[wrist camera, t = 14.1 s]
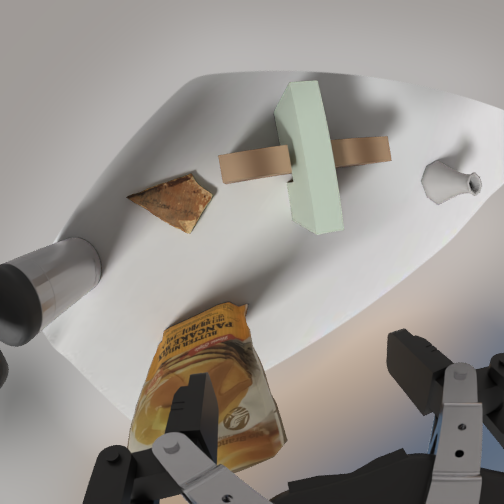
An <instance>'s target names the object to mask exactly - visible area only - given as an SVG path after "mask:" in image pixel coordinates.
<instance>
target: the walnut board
mask: <svg viewBox="0 0 504 504" xmlns="http://www.w3.org/2000/svg"><path fill="white" fill-rule="evenodd" d="M330 141H331V146H332V152H333V158H334V163H335V168H339V167H348V166H358V165H365V164H372V163H379V162H386V161H392V160H391V154H390V148H389V142H388V136H385V137H365V138H350V139H337V140H330ZM218 157H219V163H220V168H221V174H222V180H223V183H224V184H230V183H236V182H241V181H247V180H253V179H259V178H265V177H272V176H278V175H285V174H292V169H291V163H290V157H289V151H288V146H287V145H282V146H274V147H267V148H261V149H254V150H248V151H242V152H236V153H230V154H224V155H219V156H218Z"/></svg>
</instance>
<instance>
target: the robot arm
mask: <svg viewBox="0 0 504 504" xmlns="http://www.w3.org/2000/svg"><path fill="white" fill-rule="evenodd" d="M100 276H101V262H100V259H99V256H98V254H97V252H96V250H95V249H94V247H93V246H92V245H91V244H90V243H89V242H87V241H86V240H84V239H81V238H77V237H73V238H68V239H66V240H63V241H60V242H57V243H54V244H52V245H49V246H46V247H44V248H41V249H38V250H36V251H33V252H31V253H28V254H25V255H23V256H20V257H18V258H16V259H13V260H11V261H9V262H6V263H4V264H1V265H0V341H2V342H3V343H5V344H7V345H10V346H22V345H24V344H26V343H28V342H29V341H30V340H31V339H33V338H34V337H35V336H36V335H37V334H38V333H39V332H40V331H42V330H43V329H44V328H45V327H47V326H48V325H49V324H50V323H51V322H52V321H54V320H55V319H56V318H57V317H59V316H60V315H61V314H62V313H63V312H65V311H66V310H67V309H68V308H70V307H71V306H72V305H73V304H75V303H76V302H77V301H78V300H80V299H81V298H82V297H83V296H85V295H86V294H87V293H88V292H90V291H91V290H92V289H94V288H95V286H96V285H97V284H98V282H99V280H100ZM387 368H388V371H389V373H390V374H391V376H392V377H393V378H394V379H395V380H396V382H397V383H398V384H399V386H400V387H401V388H402V389H403V391H404V392H405V393H406V394H407V395H408V397H409V398H410V399H411V401H412V402H413V403H414V404H415V406H416V407H417V408H418V410H419V411H420V412H421V413H422V415H423V416H425V415H427V414H429V413H432V412H433V413H434V414H435V416H434V420H433V426H432V431H431V436H430V441H429V446H428V451H427V454H424V453H415V454H406V453H405V451H404V449H403V448H402V449H399V450H397V451H394V452H392V453H389V454H387V455H384V456H381V457H378V458H376V459H375V460H373V461H371V462H370V463H368V464H366V465H364V466H363V467H361V468H359V469H357V470H356V471H354V472H352V473H348V474H339V475H325V476H315V477H311V478H306V479H302V480H297V481H292V482H288V486H289V490H287V491H285V492H282V493H280V494H279V495H276V496H275V497H273V498H272V499H270V500H267V499H266V498H265V497H263V496H262V495H261V494H259V493H258V492H257V491H255V490H254V489H252V488H251V487H250V486H249V485H247V484H246V483H245V482H244V481H242V480H241V479H240V478H239V477H238V476H236V475H235V474H234V473H233V472H231V471H230V470H229V469H228V468H227V467H225V466H224V465H222V464H219V465H217V447H218V419H219V408H218V402H217V398H216V395H215V392H214V389H213V385H212V382H211V379H210V376H209V374H208V372H205V373H197V374H191V375H190V378H189V383H188V386H181V387H180V388H179V389H178V390H177V391H176V393H175V394H174V396H173V400H172V404H171V409H170V410H171V411H170V413H169V417H168V421H167V425H166V429H165V433H164V435H161V436H160V437H158V438H157V439H156V440H155V441H154V443H153V445H152V448H149V449H146V450H142V451H138V452H133V453H131V452H130V451H129V449H128V448H126V447H124V446H121V445H113V446H109V447H107V448H105V449H104V450H102V451H101V452H100V453H99V455H98V457H97V460H96V463H95V466H94V469H93V472H92V475H91V478H90V481H89V485H88V487H87V491H86V494H85V497H84V501H83V504H159V501H160V499H163V498H167V497H171V496H175V495H179V494H181V495H182V496H183V497H184V499H185V500H186V501H188V503H189V504H504V472H499V471H494V470H489V469H485V468H481V467H480V464H481V451H482V422H483V423H484V425H485V426H486V427H487V429H488V430H489V431H490V432H491V433H492V435H493V436H494V437H495V438H496V440H497V441H498V442H499V443H500V445H501V446H502V447H503V449H504V353H499V354H496V355H494V356H493V357H492V358H491V361H490V365H489V366H488V367H484V368H480V369H474V367H472V366H471V365H470V364H467V363H453V362H452V361H451V360H449V359H448V358H447V357H446V356H445V355H443V354H442V353H441V352H440V351H439V350H437V348H435V347H434V346H432V344H431V343H430V342H428V341H427V340H426V339H424V338H422V337H419V336H413V335H412V334H411V333H409V332H408V331H407V330H406V329H401V330H398V331H394V332H392V333H389V334H388V341H387ZM8 370H9V369H8V364H7V362H6V360H5V357H4V356H3V354H2V352H1V350H0V388H1V387H2V386H3V384H4V382H5V381H6V378H7V376H8Z"/></svg>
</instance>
